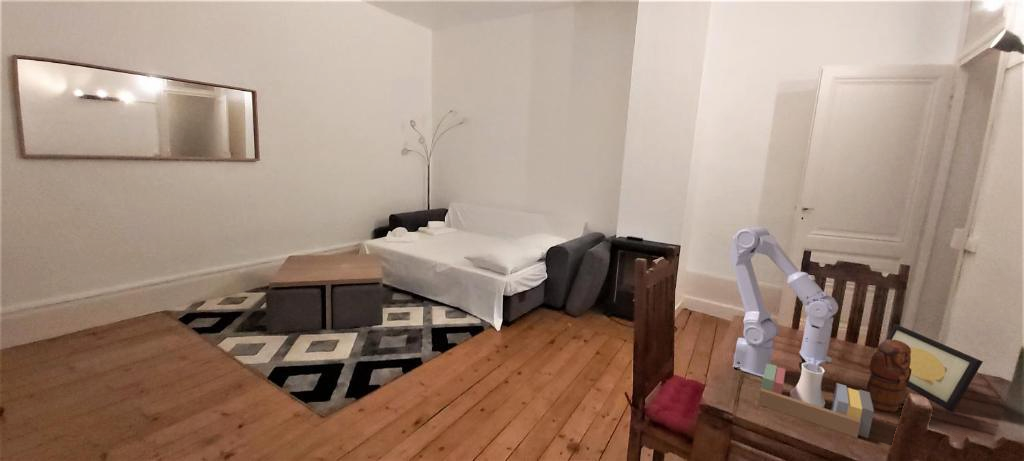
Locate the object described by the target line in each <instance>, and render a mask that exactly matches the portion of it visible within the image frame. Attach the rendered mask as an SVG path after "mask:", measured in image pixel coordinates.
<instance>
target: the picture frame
mask: <svg viewBox="0 0 1024 461" xmlns="http://www.w3.org/2000/svg"><path fill="white" fill-rule="evenodd" d="M885 340H898V341H901V342H903V343H905V344H907V345H908V346H909V347H910V349H911V353H910V355H911V362H910V366H909V368H910V369H911V376H910V379H909V382H907V383H906V387H908V388H910V389H912V390H914V391H915V392H918V394H920V395H921V394H922V395H923V396H924V397H926V398H928V399H930V400H931V401H933V402H934V403H937V405H940V406H942V407H943V408H945V409H947V410H949V411H951V412H954V411H955V409H956V408H957V407H958V405H959V403H960V401H961V400H962V398H963V396H964V395H965V393H966V392H967V389H968V387H969V386H970V384H971V383H972V381H973V379H974V377H975V376H976V374H977V373H978V371H979V369H980V368H981V366H982V364H983V362H984V361H983V360H980V359H978V358H976V357H973V356H971V355H968V354H967V353H964V352H962V351H959V350H957V349H955V348H954V347H953V348H952V347H950V346H949V345H946V344H943V343H941V342H938V341H937V340H934V339H932V338H929V337H927V336H924V335H922V334H919V333H918V332H915V331H913V330H911V329H908V328H906V327H904V326H901V325H900V324H896V323H894V324H893V325H892V327H891V330H890V331H889V333H888V335H887V336H886V338H885Z"/></svg>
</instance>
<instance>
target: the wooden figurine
mask: <svg viewBox="0 0 1024 461" xmlns="http://www.w3.org/2000/svg"><path fill="white" fill-rule="evenodd" d="M910 353H911V349H910V347H909V346H908V345H907V344H905V343H903V342H901V341H898V340H886V339H885V340H884V341H882V342H881V343H880V344H879V345H878V346H877V351H875V352H874V353H873V355H872V356H871V358H870V364H869V370H870V376H869V379H868V380H867V381H868V382H867V386H866V390H865V391H866V392H870V397H871V401H872V405H873V409H877V410H881V411H884V412H885V411H886V412H897V411H898V410H899V409H901V408H902V407H903V406H902V405H903V404H905V399H906V397H907V385H906V383H907V382H909V379H910V376H911V369H910V368H909V366H910V362H911V355H910Z"/></svg>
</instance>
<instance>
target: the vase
mask: <svg viewBox="0 0 1024 461" xmlns="http://www.w3.org/2000/svg"><path fill="white" fill-rule="evenodd" d="M807 368H808V363H807V362H806V363H802V372H801V371H800V377H799V380H798V381H797V382H798V383H797V384H796V385H795V387H794V388H792V389H791V390H790V391H789V392H790V393H789V397H791V398H794V399H797V400H800V401H804V402H807V403H810V404H813V405H816V406H819V407H822V408H825V404H826V401H825V399H824V398H823V394H822V393H823V392H822V381H823V376H824V374H825V373H824V372H826V371H825V369H824V368H823V367H822V366H821V365H820V366H819V365H818V368H817V372H814V371H811V370H807Z"/></svg>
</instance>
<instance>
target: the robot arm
mask: <svg viewBox="0 0 1024 461" xmlns="http://www.w3.org/2000/svg"><path fill="white" fill-rule="evenodd" d="M755 254H761V255H763V256H764V255H765V256H767V257H768V258H769V259H770V260H771V261H772V263H774V265H775V266H777V268H778V269H779V270H780V271H781V272H782V273H783V275H785V276H786V277H787V282H786V284H787V286H788V287H789V288H790V289H791V290H792V292H793V293H794V294H795V296H796V297H798V299H799V300H800V301H801V303H802V304H803V305H805V306H804V310H805V313H806V315H807V317H806V321H805V325H804V330H803V336H802V341H801V348H800V350H799V357H800V360H801V361H799V362H798V367H799V369H800V373H801V372H802V363H806V362H807V363H808V368H807V370H811V371H814V372H817V368H818V365H819V366H821V365H822V364H824V363H826V362H827V363H831V362H832V357H830V356H828V351H829V346H830V341H831V340H830V339H831V334H832V331H833V330H832V329H833V323H834V322H833V321H834V317H833V316H835V315H836V314H837V312H838V311H839V304H838V303H837V301H836V299H835V298H834V297H833V296H831V295H829V294H828V293H827V291H823V289H822V288H821V287H820V286H819V285H818V284H817V283H816V281H815V280H816V278H815V277H814V275H810V274H809V273H808V272H804V271H800V270H799V269H798V268H797V266H796V265H795V264H794V262H793V261H792V260H791V259H790V257H789V256H788V255H787V254H788V253H786V252H785V250H783V248H782V247H781V245H780V244H779V243H778V241H777V240H776V238H775V236H774V235H773V234H770V232H769V230H768V229H767V228H765V227H763V226H761V225H760V226H753V227H749V228H746V227H745V228H741V229H740V230H738V231H737V233H735V234H734V236H733V237H732V245H731V250H730V254H729V259H730V263H731V267H732V269H733V273H734V277H735V279H736V283H737V288H738V290H739V291H738V292H739V294H740V297H741V298H740V299H741V301H742V305H743V308H744V312H745V314H744V318H743V320H742V321H743V323H742V324H743V333H742V334H743V337H738V338H737V341H736V346H735V352H734V355H733V363H732V364H733V365H732V368H733V367H734V366H735V367H740V369H741V370H740V371H741V372H745V373H748V374H751V375H754V376H758V377H761V378H763V375H764V371H765V367H766V364H767V363H768V364H771V360H772V354H773V348H774V342H773V339H775V338H776V337H777V336H778V334H779V328H778V325H777V323H776V322H775V321H774V320H773V318H772V316H771V314H770V313H769V312H768V310H766V308H765V307H766V306H765V304H764V301H763V297H762V294H761V290H760V287H759V283H758V280H757V276H756V274H755V270H754V267H753V263H752V258H753V257H754V256H755ZM737 362H739V363H740V364H739V363H737ZM825 372H826V371H825ZM825 372H824V374H825Z"/></svg>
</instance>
